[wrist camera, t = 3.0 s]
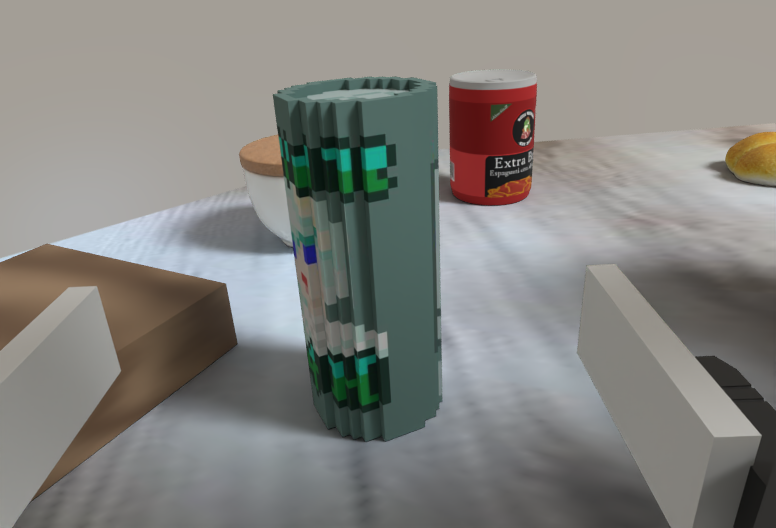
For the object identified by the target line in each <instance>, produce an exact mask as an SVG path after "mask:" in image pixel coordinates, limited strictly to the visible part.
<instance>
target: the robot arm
mask: <svg viewBox="0 0 776 528" xmlns="http://www.w3.org/2000/svg"><path fill="white" fill-rule="evenodd" d="M577 354H578V355H579V357H580V359H581V361H582V363H583V365H584V367H585V369H586V370H587V372H588V374H589V376H590V378H591V380H592V382H593V383H594V385H595V387H596V389H597V391H598V393H599V395H600V396H601V398H602V400H603V402H604V404H605V406H606V408H607V410H608V411H609V413H610V415H611V417H612V419H613V421H614V423H615V424H616V426H617V428H618V430H619V432H620V434H621V436H622V438H623V439H624V441H625V443H626V445H627V447H628V449H629V451H630V452H631V454H632V456H633V458H634V460H635V462H636V464H637V465H638V467H639V469H640V471H641V473H642V475H643V477H644V479H645V480H646V482H647V484H648V486H649V488H650V490H651V492H652V493H653V495H654V497H655V499H656V501H657V503H658V505H659V507H660V508H661V510H662V512H663V514H664V516H665V518H666V520H667V521H668V523H669V525H670V527H671V528H776V411H775V410H774V409H773V408H772V407H771V405H770V404H769V403H768V402H767V401H766V402H764V398H763V397H762V396H761V395H760V394H759V393H758V392H757V391H756V389H755V388H752V387H751V384H750V383H749V382H748V381H747V380H746V379H745V378H744V377H743V376H742V375H741V373H740V372H739V371H738V370H737V369H735V368H734V367H732V366H730V365H729V364H727V363H725V362H724V361H722V360H720V359H719V358H717V357H715V356H699V357H694V356H693V354H692V353H691V352H690V351H689V350H688V349H687V347H686V346H685V345H684V344H683V343H682V342H681V340H680V339H679V338H678V337H677V336H676V334H675V333H674V332H673V331H672V330H671V329H670V327H669V326H668V325H667V324H666V323H665V322H664V320H663V319H662V318H661V317H660V316H659V315H658V313H657V312H656V311H655V310H654V309H653V308H652V306H651V305H650V304H649V303H648V302H647V301H646V299H645V298H644V297H643V296H642V295H641V294H640V292H639V291H638V290H637V289H636V288H635V286H634V285H633V284H632V283H631V282H630V281H629V279H628V278H627V277H626V276H625V275H624V274H623V272H622V271H621V270H620V269H619V268H618V267H617V265H616V264H606V265H586V274H585V284H584V293H583V302H582V311H581V320H580V330H579V339H578V348H577ZM120 372H121V369H120V365H119V362H118V358H117V355H116V351H115V348H114V344H113V341H112V337H111V334H110V330H109V327H108V323H107V320H106V316H105V313H104V309H103V306H102V302H101V298H100V295H99V291H98V288H97V286H87V287H68V288H67V289H66V290H65V291H64V292H63V293H62V294H61V295H60V296H59V297H58V298H57V299H56V300H55V301H53V302H52V303H51V304H50V305H49V306H48V307H47V308H46V309H45V310H44V311H43V312H42V313H41V314H39V315H38V316H37V317H36V318H35V319H34V320H33V321H32V322H31V323H30V324H29V325H28V326H27V327H25V328H24V329H23V330H22V331H21V332H20V333H19V334H18V335H17V336H16V337H15V338H14V339H13V340H11V341H10V342H9V343H8V344H7V345H6V346H5V347H4V348H3V349H2V350H1V351H0V528H12V527H13V525H14V524H15V523H16V521H17V520H18V518H19V517H20V515H21V514H22V512H23V511H24V510H25V508H26V507H27V505H28V504H29V502H30V501H31V500H32V498H33V497H34V495H35V494H36V492H37V491H38V490H39V488H40V487H41V485H42V484H43V482H44V481H45V480H46V478H47V477H48V475H49V474H50V472H51V471H52V469H53V468H54V467H55V465H56V464H57V462H58V461H59V459H60V458H61V457H62V455H63V454H64V452H65V451H66V449H67V448H68V447H69V445H70V444H71V442H72V441H73V439H74V438H75V436H76V435H77V434H78V432H79V431H80V429H81V428H82V426H83V425H84V424H85V422H86V421H87V419H88V418H89V416H90V415H91V414H92V412H93V411H94V409H95V408H96V406H97V405H98V404H99V402H100V401H101V399H102V398H103V396H104V395H105V393H106V392H107V391H108V389H109V388H110V386H111V385H112V383H113V382H114V381H115V379H116V378H117V376H118V375H119V373H120Z"/></svg>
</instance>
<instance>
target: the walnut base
mask: <svg viewBox="0 0 776 528" xmlns="http://www.w3.org/2000/svg"><path fill="white" fill-rule="evenodd" d="M87 286H97V288H98V291H99V295H100V298H101V302H102V306H103V309H104V313H105V316H106V320H107V323H108V327H109V330H110V334H111V337H112V341H113V344H114V348H115V351H116V355H117V358H118V362H119V365H120V369H121V372H120V373H119V375H118V376H117V378H116V379H115V381H114V382H113V383H112V385H111V386H110V388H109V389H108V391H107V392H106V393H105V395H104V396H103V398H102V399H101V401H100V402H99V404H98V405H97V406H96V408H95V409H94V411H93V412H92V414H91V415H90V416H89V418H88V419H87V421H86V422H85V424H84V425H83V426H82V428H81V429H80V431H79V432H78V434H77V435H76V436H75V438H74V439H73V441H72V442H71V444H70V445H69V447H68V448H67V449H66V451H65V452H64V454H63V455H62V457H61V458H60V459H59V461H58V462H57V464H56V465H55V467H54V468H53V469H52V471H51V472H50V474H49V475H48V477H47V478H46V480H45V481H44V482H43V484H42V485H41V487H40V488H39V490H38V491H37V492H36V494H35V495H34V497H33V498H32V500H34V499H35V498H36V497H37V496H39V495H40V494H41V493H43V492H44V491H45V490H47V489H48V488H49V487H51V486H52V485H53V484H54V483H56V482H57V481H58V480H60V479H61V478H62V477H64V476H65V475H66V474H68V473H69V472H70V471H72V470H73V469H74V468H75V467H77V466H78V465H79V464H81V463H82V462H83V461H85V460H86V459H87V458H89V457H90V456H91V455H93V454H94V453H95V452H96V451H98V450H99V449H100V448H102V447H103V446H104V445H106V444H107V443H108V442H110V441H111V440H112V439H114V438H115V437H116V436H117V435H119V434H120V433H121V432H123V431H124V430H125V429H127V428H128V427H129V426H131V425H132V424H133V423H134V422H136V421H137V420H138V419H140V418H141V417H142V416H144V415H145V414H146V413H148V412H149V411H150V410H152V409H153V408H154V407H155V406H157V405H158V404H159V403H161V402H162V401H163V400H165V399H166V398H167V397H169V396H170V395H171V394H173V393H174V392H175V391H176V390H178V389H179V388H180V387H182V386H183V385H184V384H186V383H187V382H188V381H190V380H191V379H192V378H194V377H195V376H196V375H197V374H199V373H200V372H201V371H203V370H204V369H205V368H207V367H208V366H209V365H211V364H212V363H213V362H214V361H216V360H217V359H218V358H220V357H221V356H222V355H224V354H225V353H226V352H228V351H229V350H230V349H232V348H233V347H234V346H235V345H237V339H236V333H235V328H234V323H233V318H232V313H231V308H230V303H229V297H228V292H227V287H226V284H225V283H221V282H216V281H212V280H207V279H203V278H198V277H194V276H189V275H185V274H180V273H176V272H171V271H167V270H162V269H158V268H153V267H149V266H144V265H140V264H135V263H131V262H126V261H122V260H117V259H113V258H109V257H104V256H100V255H95V254H91V253H86V252H82V251H77V250H73V249H68V248H64V247H59V246H55V245H50V244H45V245H42V246H40V247H37V248H35V249H33V250H30V251H28V252H25V253H23V254H20V255H18V256H15V257H13V258H10V259H8V260H5V261H3V262H0V351H1V350H2V349H3V348H4V347H5V346H6V345H7V344H8V343H9V342H10V341H11V340H13V339H14V338H15V337H16V336H17V335H18V334H19V333H20V332H21V331H22V330H23V329H24V328H25V327H27V326H28V325H29V324H30V323H31V322H32V321H33V320H34V319H35V318H36V317H37V316H38V315H39V314H41V313H42V312H43V311H44V310H45V309H46V308H47V307H48V306H49V305H50V304H51V303H52V302H53V301H55V300H56V299H57V298H58V297H59V296H60V295H61V294H62V293H63V292H64V291H65V290H66V289H67V288H68V287H87ZM32 500H31V501H32ZM31 501H30V502H31ZM30 502H29V503H30Z"/></svg>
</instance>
